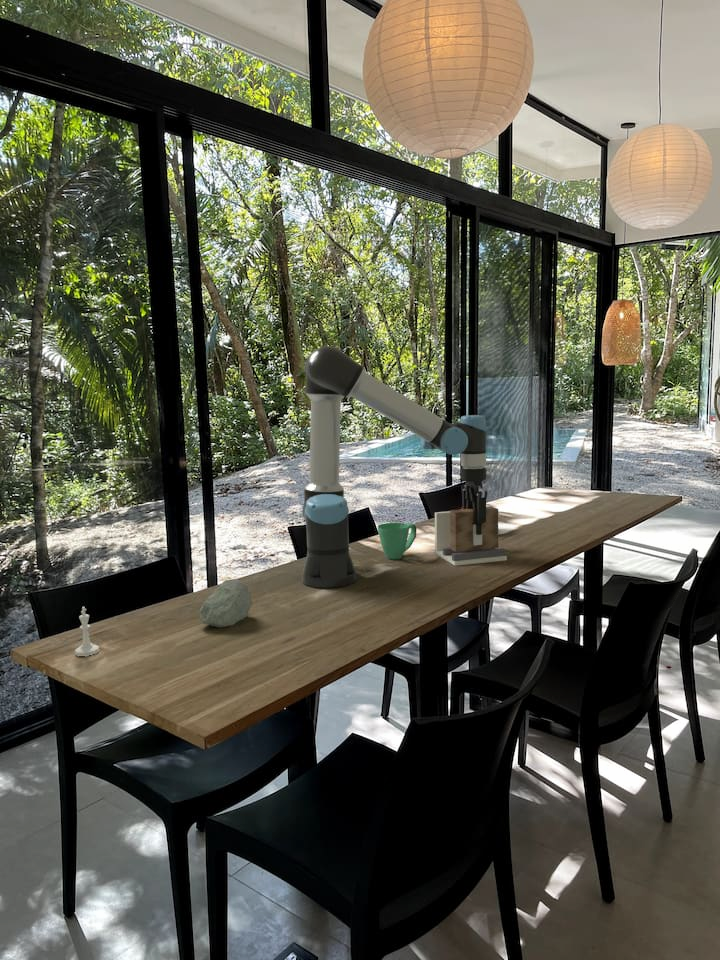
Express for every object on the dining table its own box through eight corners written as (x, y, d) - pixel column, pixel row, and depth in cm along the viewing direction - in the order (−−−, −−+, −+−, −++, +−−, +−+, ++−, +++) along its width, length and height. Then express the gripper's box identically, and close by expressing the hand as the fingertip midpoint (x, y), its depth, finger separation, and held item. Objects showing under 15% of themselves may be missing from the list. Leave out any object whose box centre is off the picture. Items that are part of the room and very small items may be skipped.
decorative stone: (241, 608, 178) (214, 580, 175) (267, 600, 170) (240, 571, 167) (212, 648, 169) (184, 619, 166) (239, 642, 162) (210, 612, 159)
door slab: (455, 552, 214) (455, 512, 212) (450, 549, 218) (450, 510, 216) (498, 547, 218) (498, 508, 216) (492, 544, 221) (492, 506, 220)
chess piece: (102, 647, 154) (98, 602, 153) (95, 656, 150) (91, 610, 148) (79, 648, 154) (75, 603, 153) (71, 657, 149) (67, 611, 148)
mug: (394, 563, 216) (393, 530, 214) (371, 557, 223) (370, 526, 221) (426, 553, 226) (426, 522, 224) (403, 548, 233) (403, 518, 231)
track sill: (454, 565, 211) (454, 522, 209) (434, 553, 226) (434, 512, 224) (506, 560, 216) (507, 517, 214) (483, 548, 231) (483, 508, 229)
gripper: (498, 469, 207) (498, 548, 210) (473, 463, 223) (473, 536, 226) (474, 471, 205) (475, 550, 208) (450, 464, 221) (451, 538, 224)
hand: (474, 542), depth 217 cm, fingers closed on door slab, 4 cm apart
